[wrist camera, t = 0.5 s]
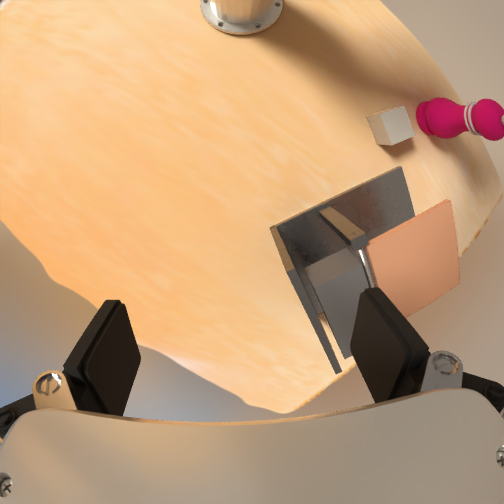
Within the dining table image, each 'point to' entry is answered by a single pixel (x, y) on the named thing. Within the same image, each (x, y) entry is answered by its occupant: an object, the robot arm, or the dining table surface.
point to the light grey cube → (391, 125)
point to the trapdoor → (390, 270)
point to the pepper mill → (461, 118)
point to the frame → (340, 235)
